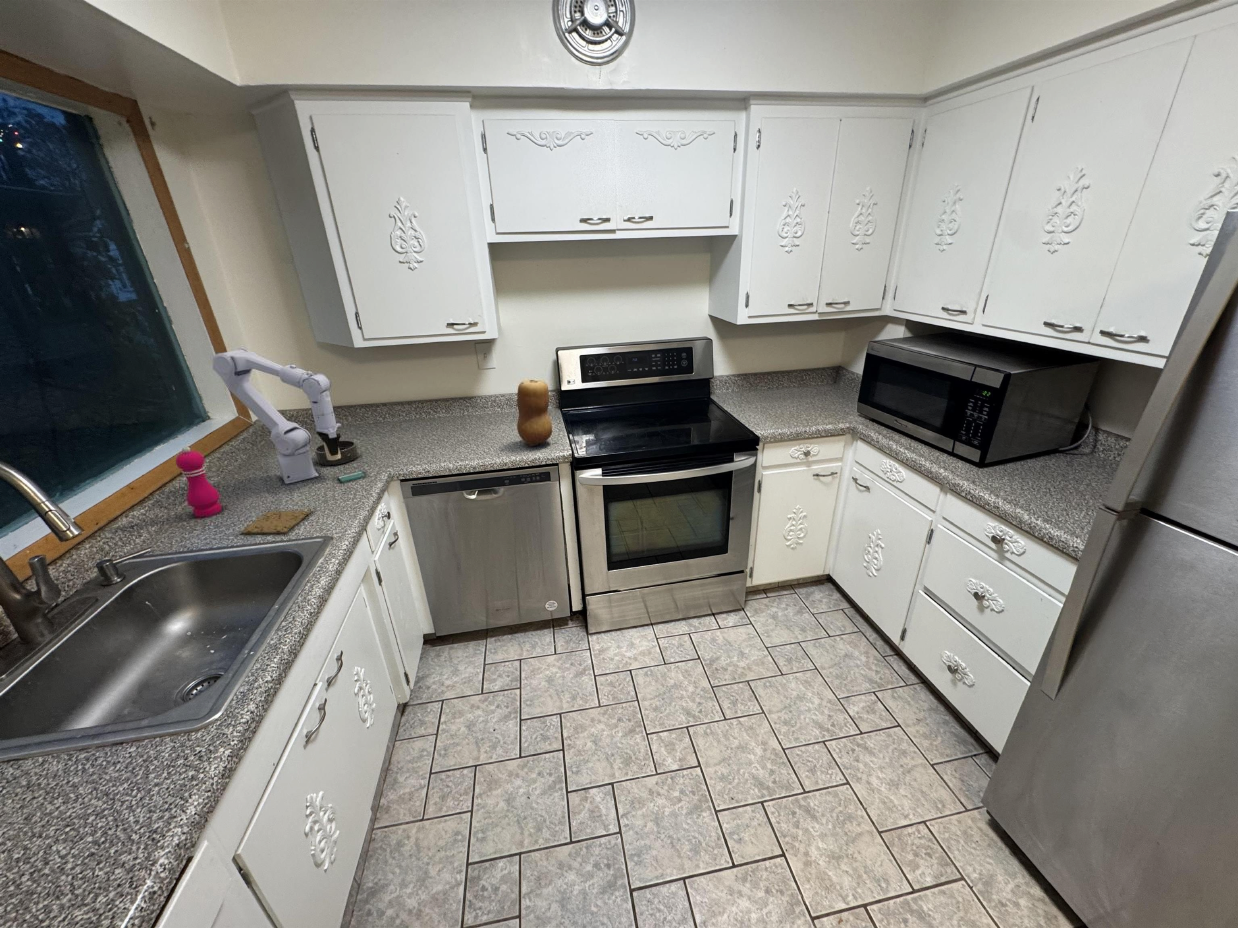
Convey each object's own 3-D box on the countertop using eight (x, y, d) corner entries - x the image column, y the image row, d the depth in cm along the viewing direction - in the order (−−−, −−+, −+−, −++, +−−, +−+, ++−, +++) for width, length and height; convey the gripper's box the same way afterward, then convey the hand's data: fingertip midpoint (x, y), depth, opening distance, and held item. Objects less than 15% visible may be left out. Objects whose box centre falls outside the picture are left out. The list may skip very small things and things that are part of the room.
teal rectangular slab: (342, 482, 163) (341, 481, 163) (338, 478, 166) (337, 476, 166) (365, 477, 167) (364, 475, 167) (360, 472, 171) (360, 470, 170)
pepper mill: (219, 504, 149) (197, 440, 142) (227, 511, 145) (205, 446, 138) (189, 513, 144) (165, 447, 137) (196, 520, 140) (171, 453, 132)
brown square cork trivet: (312, 512, 144) (311, 509, 143) (286, 533, 133) (285, 530, 132) (270, 512, 144) (269, 509, 143) (240, 533, 133) (239, 530, 132)
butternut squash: (556, 447, 192) (553, 382, 182) (521, 452, 187) (516, 386, 178) (547, 436, 204) (543, 375, 194) (514, 440, 199) (509, 378, 190)
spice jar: (328, 461, 162) (323, 440, 160) (325, 457, 165) (320, 437, 163) (342, 458, 165) (338, 437, 162) (339, 454, 168) (334, 434, 165)
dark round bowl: (322, 469, 174) (319, 455, 172) (314, 458, 183) (310, 445, 181) (363, 459, 181) (360, 446, 180) (353, 450, 191) (350, 437, 189)
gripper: (342, 415, 156) (352, 456, 162) (331, 406, 167) (340, 444, 172) (317, 420, 152) (327, 461, 157) (307, 410, 162) (317, 449, 168)
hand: (333, 453), depth 164 cm, fingers closed on spice jar, 4 cm apart
